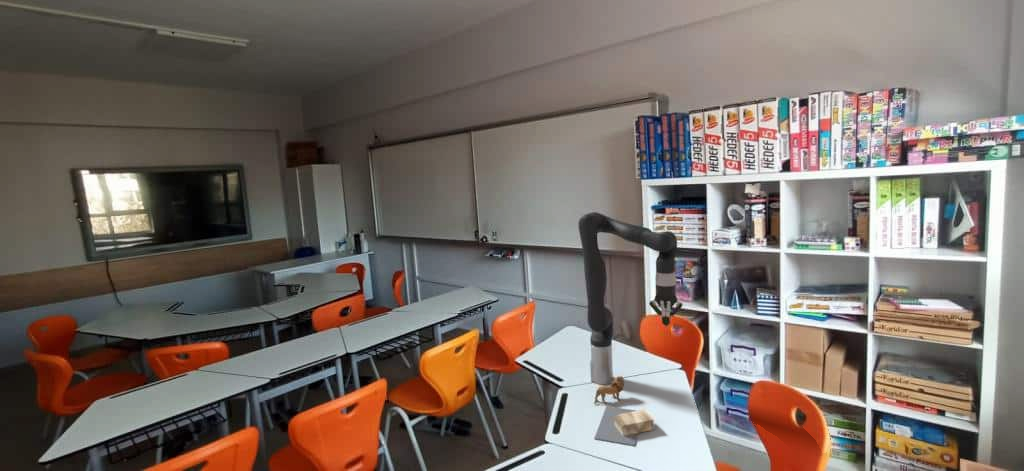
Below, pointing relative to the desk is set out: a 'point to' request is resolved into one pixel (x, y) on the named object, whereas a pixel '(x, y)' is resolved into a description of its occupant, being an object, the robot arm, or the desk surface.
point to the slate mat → (613, 428)
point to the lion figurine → (611, 389)
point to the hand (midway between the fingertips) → (666, 324)
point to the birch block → (634, 422)
